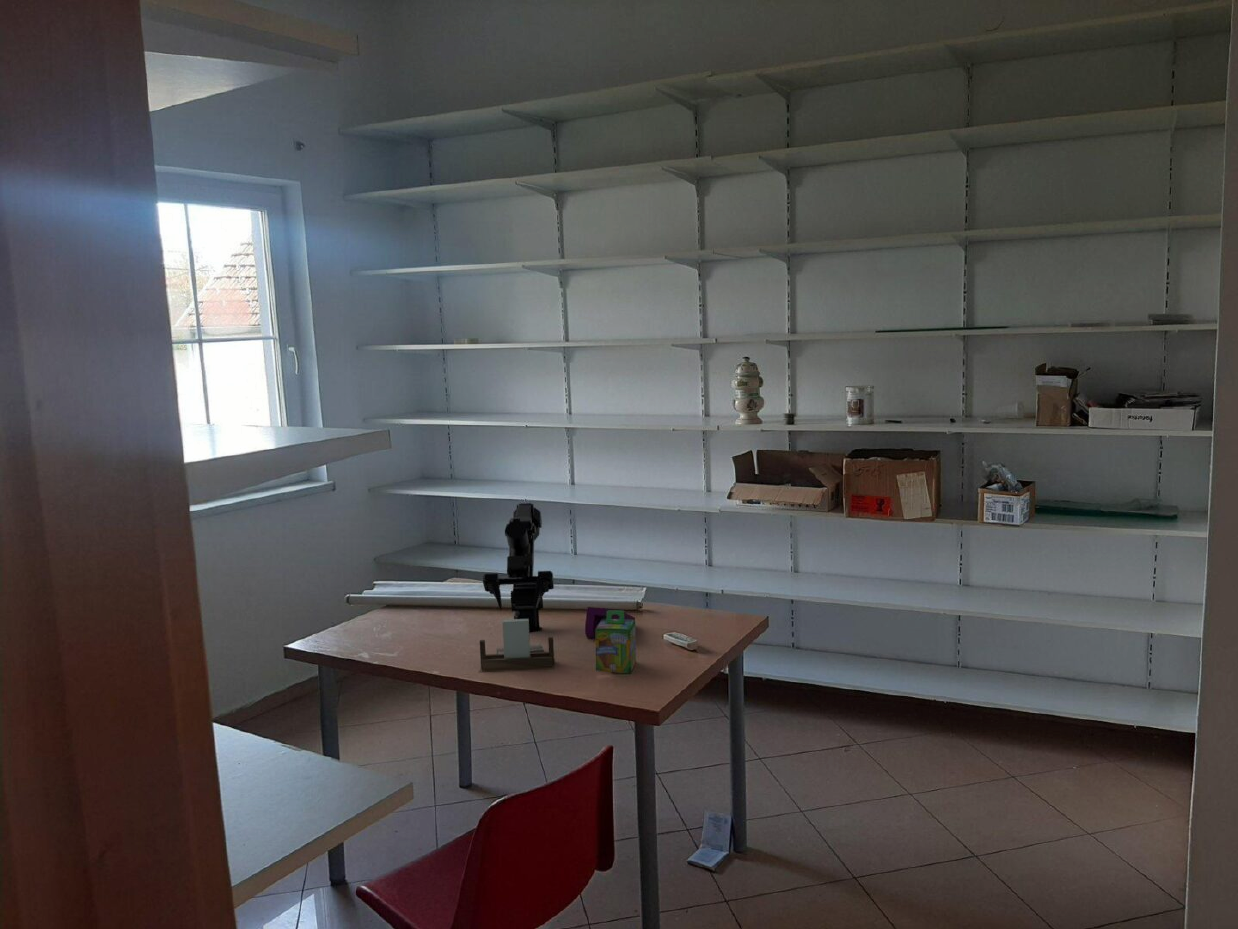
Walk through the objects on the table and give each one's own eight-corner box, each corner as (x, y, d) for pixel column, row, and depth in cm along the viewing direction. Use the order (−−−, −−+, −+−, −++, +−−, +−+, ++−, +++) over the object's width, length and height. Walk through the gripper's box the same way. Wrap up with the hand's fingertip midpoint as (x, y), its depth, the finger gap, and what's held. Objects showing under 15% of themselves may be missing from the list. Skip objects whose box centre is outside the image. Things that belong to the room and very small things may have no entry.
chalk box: (595, 673, 232) (593, 616, 231) (602, 661, 241) (600, 606, 240) (631, 674, 231) (629, 616, 229) (637, 662, 240) (635, 606, 238)
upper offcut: (496, 654, 247) (496, 648, 247) (541, 649, 250) (540, 643, 249) (498, 660, 242) (498, 654, 242) (543, 655, 245) (543, 649, 244)
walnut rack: (482, 664, 242) (481, 636, 241) (555, 661, 242) (554, 633, 241) (479, 675, 234) (477, 645, 233) (554, 672, 234) (552, 642, 233)
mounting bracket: (606, 646, 272) (583, 637, 256) (609, 617, 275) (587, 607, 259) (636, 649, 269) (614, 639, 253) (639, 620, 271) (618, 609, 255)
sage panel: (505, 664, 239) (503, 619, 237) (530, 663, 239) (528, 618, 237) (504, 667, 237) (502, 622, 235) (530, 666, 237) (527, 621, 235)
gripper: (481, 544, 247) (478, 595, 238) (551, 541, 248) (550, 592, 238) (486, 565, 256) (483, 615, 247) (553, 563, 256) (553, 613, 247)
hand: (517, 609), depth 244 cm, fingers open, 9 cm apart
